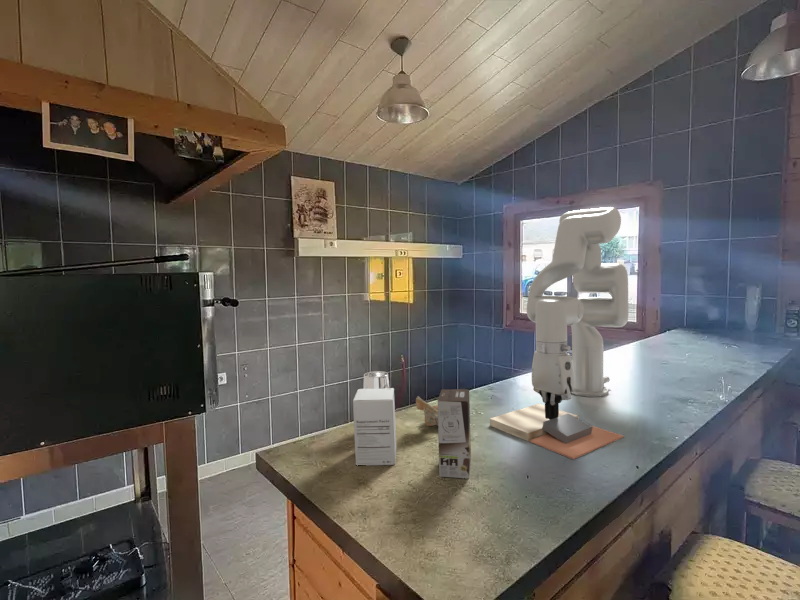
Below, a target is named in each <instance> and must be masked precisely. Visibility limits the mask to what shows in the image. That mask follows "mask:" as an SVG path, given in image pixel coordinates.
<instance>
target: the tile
mask: <svg viewBox="0 0 800 600" xmlns="http://www.w3.org/2000/svg"><path fill="white" fill-rule="evenodd" d="M569 413H570V412H568V414H565V415H562V416H559V417H556V418H553V419H550V420H548V421H545V422H543V427H542V429H543V430H544V431H546V432H548V433H549V434H551V435H553V436H554V437H556V438H557V439H559V440H561V441H562V442H564V443H566V444H567V443H569V442H572V441H574V440H577V439H579V438H582V437H584V436H587V435H589V434H591V432H592V428H593V426H594V425H591V424H589V423H587V422H585V421H583V420H582V419H580V418H579V417H578V418H576V417H574V416H572V415H571V414H569Z"/></svg>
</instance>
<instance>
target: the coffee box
mask: <svg viewBox="0 0 800 600" xmlns="http://www.w3.org/2000/svg"><path fill="white" fill-rule="evenodd" d="M437 405H438V426H437V429H438V431H437V432H438V433H437V434H438V435H437V437H438V473H439V474H438V476H439V477H440V478H455V479H464V478H465V479H466V480H467V479H470V473H471V472H470V471H471V462H472V458H471V457H472V452H471V451H472V449H471V448H472V447H471V446H472V445H471V415H470V414H471V411H470V408H471V406H470V405H471V403H470V389H467V388H462V389H461V388H457V389H455V388H454V389H445V388H444V389H441V390H440V393H439V395H438V398H437Z"/></svg>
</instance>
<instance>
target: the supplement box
mask: <svg viewBox="0 0 800 600" xmlns="http://www.w3.org/2000/svg"><path fill="white" fill-rule="evenodd" d="M352 407H353V412H352V413H353V429H354V432H353V433H354V434H353V435H354V453H355V466H356V465H357V467H359V466H358V465H366V466H395V465H396V459H397V458H396V457H397V431H396V430H397V428H396V405H395V388H394V387H389V388H383V389H364V388H359V389H357V391H356V393H355V395H354V396H353V400H352ZM394 464H395V465H394Z"/></svg>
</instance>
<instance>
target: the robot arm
mask: <svg viewBox="0 0 800 600" xmlns="http://www.w3.org/2000/svg"><path fill="white" fill-rule="evenodd" d="M558 223H559V224H558V227H557V231H556V236H555V237H556V238H555V242H554V249H553V254H552V259H551V262H550V263H549V264H547V265H546V266H545V267H544V268H543V269H542V270H540V271H539V273H537V275H536V276H535V278H534V279H533V280H532V283H531V285H530V287H529V292H528V298H527V303H526V315H527V318H528V319H529V320H530V321H531V322H532V323H535V351H534V352H533V357H532V364H531V385H532V387H533V391H534V392H535V393H537V394H539V395H540V397H541V399H542V402H543V403H544V405H545V418H547V419H553V418H556V417H558V415H559V410H560V409H559V407H560V406H559V404H560V403H561V402H562V401H569V400H571V399H572V395H571V394H573V395H576V396H581V397H588V398H589V397H592V398H593V397H594V398H595V397H596V398H598V397H604V396H607V395H609V393H610V391H609V389H608V387H606V386H605V384H606V383H609V382H610V380H611V379H610V377H609V376H604V338H603V336H602V335H601V333H600V331H598V329H597V327H599V328H602V327H603V328H623V327H624V326H625V325H627V323H628V322H629V321H628V320H629V275H628V270H627V268H626V266H625V265H624V264H622V263H618V262H617V263H616V262H611V263H610V262H607V263H603V261H602V248H601V247H602V246H601V245H602V244H607V243H610V242H611V241H612V240H613V239H614V238H615V236H617V234H618V233H619V231H620V228H621V225H622V217H621V214H620V211H619V210H618V209H617V208H616V207H613V206H612V207H611V206H610V207H609V206H608V207H599V208H590V209H589V208H586V209H580V210H579V209H577V210H572V211H567V212H565V213H563V214H562V215H560V218H559V222H558ZM571 276H572V282H573V283H572V284H573V287H574V290H576V292H578V293H583V294H584V293H585V294H610V296H611V297H609V296H608V297H603V296H581V297H580V296H579V297H575V296H561V295H544V294H545V292H546V291H547V289H548V288H550V287H551V286H552V285H554V284H555V283H558V282H560V281H563V280H564V279H567V278H569V277H571ZM569 325H570V328H571V346H570V345H568V326H569ZM570 351H571V354H570V353H568V352H570Z"/></svg>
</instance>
